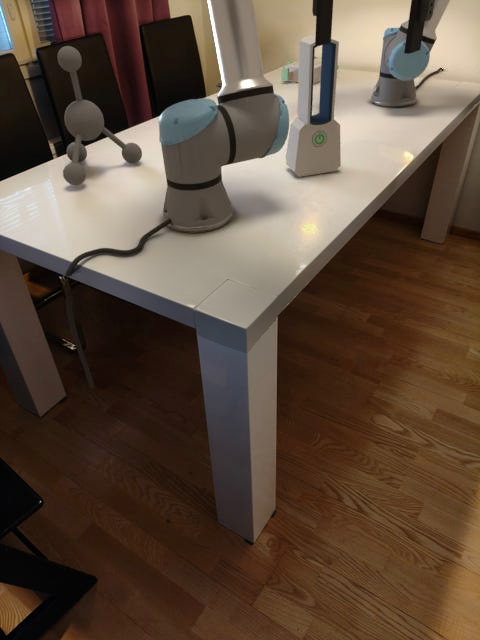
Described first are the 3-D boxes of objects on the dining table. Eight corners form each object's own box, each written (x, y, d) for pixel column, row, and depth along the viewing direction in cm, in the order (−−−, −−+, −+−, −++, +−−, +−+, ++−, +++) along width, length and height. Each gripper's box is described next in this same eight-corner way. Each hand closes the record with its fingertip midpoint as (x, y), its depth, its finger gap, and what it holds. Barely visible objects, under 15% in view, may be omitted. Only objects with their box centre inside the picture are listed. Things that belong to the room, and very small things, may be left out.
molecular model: (153, 175, 128) (132, 46, 109) (67, 191, 122) (30, 58, 104) (135, 149, 145) (114, 34, 127) (59, 162, 140) (26, 43, 121)
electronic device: (294, 177, 122) (297, 41, 104) (284, 167, 128) (285, 37, 109) (340, 170, 124) (351, 36, 106) (328, 161, 130) (337, 32, 112)
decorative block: (304, 54, 217) (345, 57, 207) (303, 70, 221) (343, 73, 211) (272, 65, 201) (315, 69, 191) (272, 82, 205) (314, 86, 195)
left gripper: (523, -199, 47) (469, 50, 60) (313, -158, 61) (307, 36, 74) (492, -209, 43) (441, 61, 56) (274, -162, 57) (275, 44, 70)
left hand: (364, 47), depth 65 cm, fingers open, 13 cm apart
